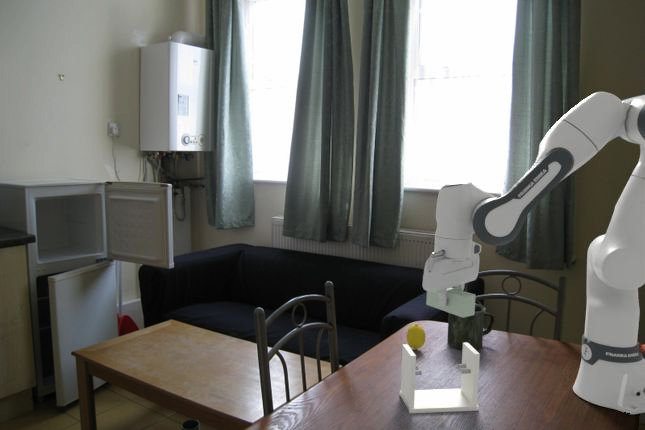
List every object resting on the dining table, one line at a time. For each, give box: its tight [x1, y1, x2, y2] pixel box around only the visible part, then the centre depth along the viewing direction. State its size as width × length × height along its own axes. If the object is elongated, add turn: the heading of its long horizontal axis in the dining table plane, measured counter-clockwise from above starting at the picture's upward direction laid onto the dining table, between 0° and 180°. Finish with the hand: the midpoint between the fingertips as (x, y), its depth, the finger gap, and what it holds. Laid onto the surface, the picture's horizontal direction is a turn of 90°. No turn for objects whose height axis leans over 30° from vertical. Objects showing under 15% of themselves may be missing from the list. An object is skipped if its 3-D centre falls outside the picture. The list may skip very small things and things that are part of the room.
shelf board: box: [425, 287, 476, 318], centre depth 126 cm, size 12×4×5 cm, turn 34°
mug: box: [447, 302, 495, 351], centre depth 156 cm, size 11×15×12 cm
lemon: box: [406, 323, 426, 351], centre depth 151 cm, size 6×6×8 cm
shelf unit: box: [399, 343, 481, 414], centre depth 119 cm, size 16×9×13 cm, turn 96°
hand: (450, 303), depth 126 cm, fingers closed on shelf board, 4 cm apart
